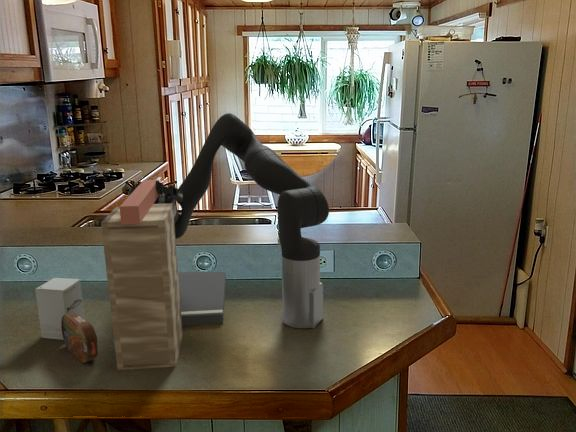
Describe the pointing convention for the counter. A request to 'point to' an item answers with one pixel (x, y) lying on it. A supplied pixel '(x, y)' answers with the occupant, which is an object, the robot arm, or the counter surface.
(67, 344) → the tin
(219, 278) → the mat
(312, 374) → the counter surface
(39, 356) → the counter surface
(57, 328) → the supplement box
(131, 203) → the bar
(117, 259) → the shelf stand
